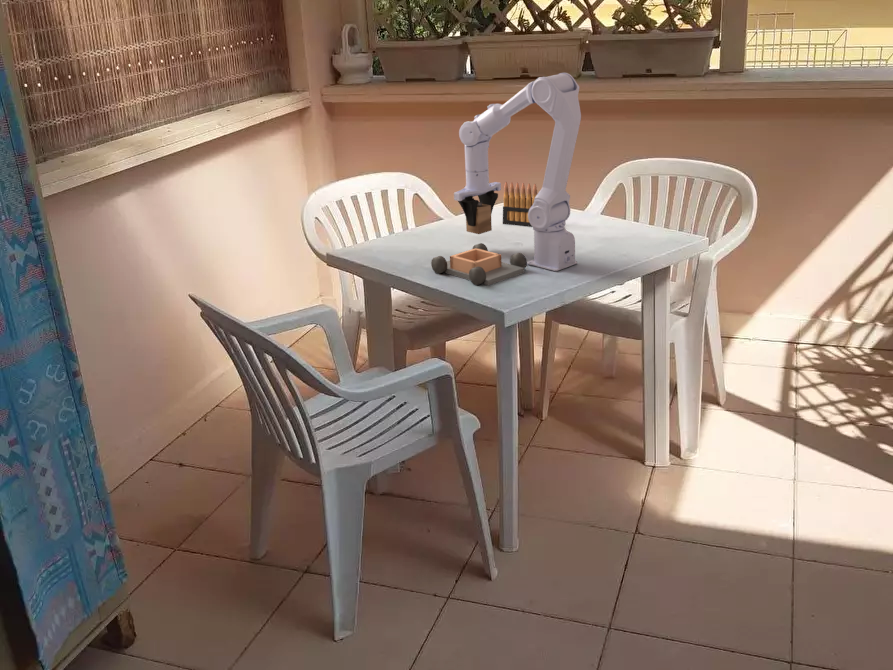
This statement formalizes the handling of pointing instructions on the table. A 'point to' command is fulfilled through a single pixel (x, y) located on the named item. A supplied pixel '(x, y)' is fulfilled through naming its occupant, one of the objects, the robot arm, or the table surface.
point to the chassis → (480, 265)
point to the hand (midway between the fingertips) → (479, 223)
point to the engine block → (481, 220)
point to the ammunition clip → (517, 205)
